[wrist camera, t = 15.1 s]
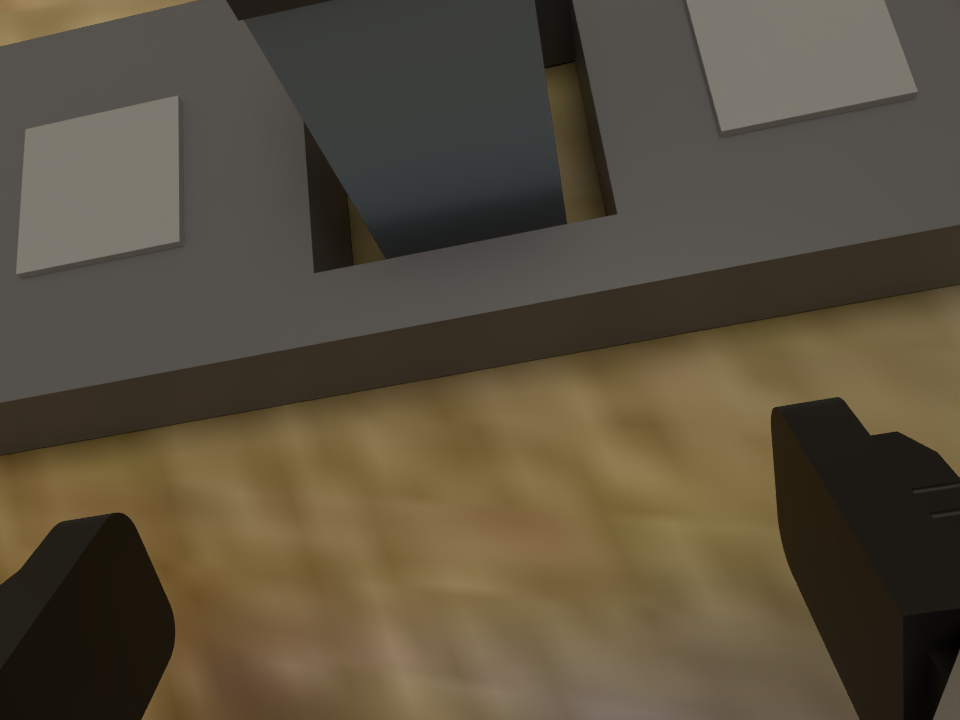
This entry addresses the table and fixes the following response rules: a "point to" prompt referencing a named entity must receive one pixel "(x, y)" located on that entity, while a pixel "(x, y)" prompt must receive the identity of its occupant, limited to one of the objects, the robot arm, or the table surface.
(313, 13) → the plug
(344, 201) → the power strip
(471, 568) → the table surface
